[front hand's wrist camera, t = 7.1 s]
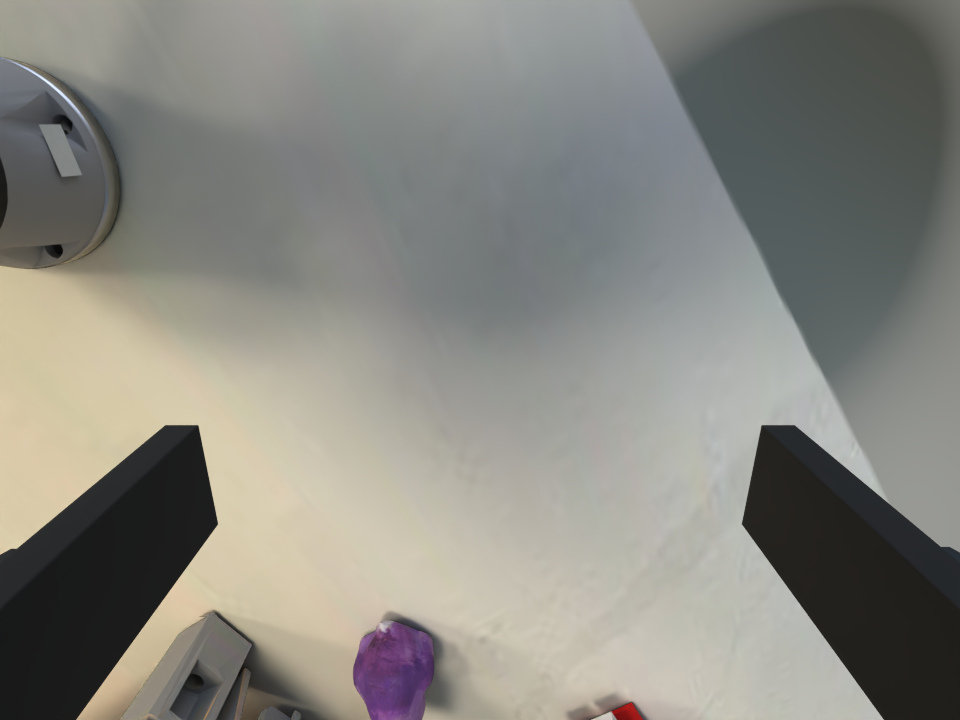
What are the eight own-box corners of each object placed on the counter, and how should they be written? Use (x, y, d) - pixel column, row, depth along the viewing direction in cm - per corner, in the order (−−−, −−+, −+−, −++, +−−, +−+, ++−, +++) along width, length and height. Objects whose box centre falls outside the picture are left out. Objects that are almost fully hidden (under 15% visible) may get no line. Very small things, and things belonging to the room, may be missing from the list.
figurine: (422, 697, 62) (405, 855, 47) (342, 661, 60) (300, 815, 46) (465, 644, 59) (461, 795, 45) (383, 605, 57) (351, 750, 43)
